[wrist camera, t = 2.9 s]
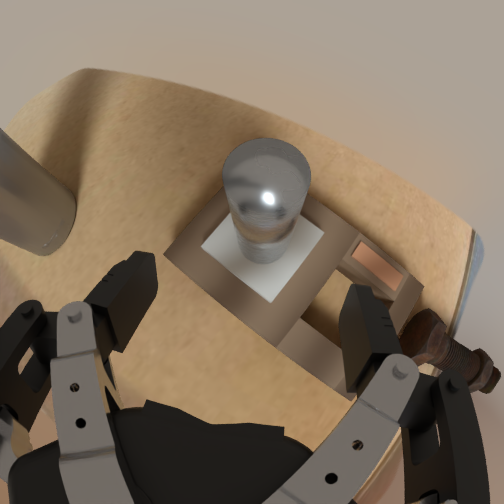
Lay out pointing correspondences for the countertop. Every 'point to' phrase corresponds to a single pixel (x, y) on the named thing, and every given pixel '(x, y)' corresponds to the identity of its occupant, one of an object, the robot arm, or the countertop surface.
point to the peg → (265, 195)
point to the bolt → (447, 352)
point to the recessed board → (291, 279)
